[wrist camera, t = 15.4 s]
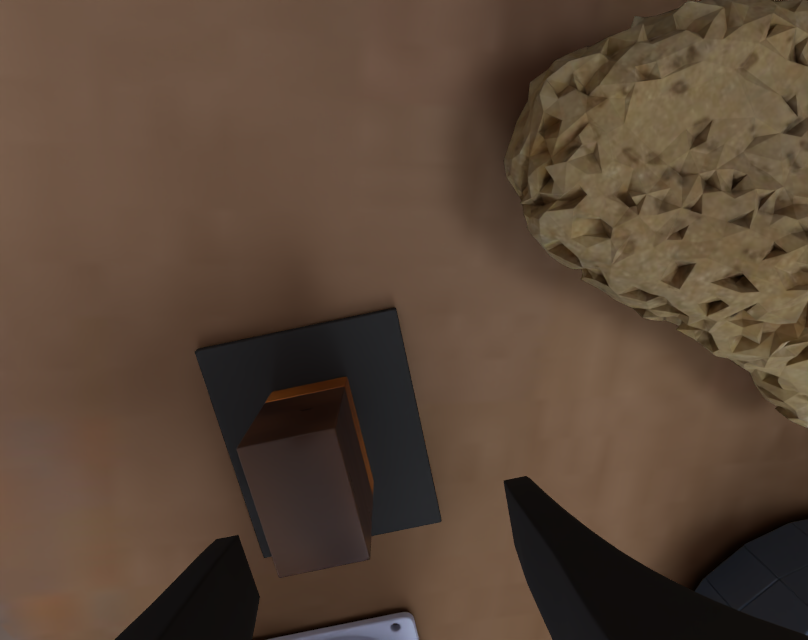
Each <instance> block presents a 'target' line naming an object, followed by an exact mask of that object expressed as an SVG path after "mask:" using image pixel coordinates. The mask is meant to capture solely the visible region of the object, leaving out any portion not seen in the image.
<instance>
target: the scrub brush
mask: <svg viewBox="0 0 808 640" xmlns="http://www.w3.org/2000/svg"><path fill="white" fill-rule="evenodd" d="M237 452H238V455H239V459H240V462H241V465H242V468H243V471H244V474H245V477H246V480H247V483H248V486H249V489H250V492H251V495H252V498H253V501H254V504H255V507H256V510H257V513H258V516H259V519H260V522H261V525H262V528H263V531H264V534H265V537H266V540H267V543H268V546H269V549H270V552H271V555H272V558H273V561H274V564H275V567H276V570H277V573H278V576H279V578H282V577H287V576H292V575H297V574H302V573H307V572H311V571H316V570H321V569H326V568H331V567H336V566H341V565H346V564H351V563H356V562H360V561H365V560H369V559H370V555H371V532H372V509H373V485H374V480H373V476H372V472H371V468H370V464H369V461H368V457H367V453H366V449H365V445H364V441H363V437H362V433H361V429H360V425H359V421H358V417H357V413H356V409H355V405H354V401H353V397H352V393H351V389H350V385H349V381H348V378H347V377H341V378H336V379H331V380H326V381H322V382H317V383H312V384H307V385H302V386H298V387H293V388H288V389H283V390H278V391H274V392H271V394H270V395H269V397H268V399H267V400H266V402H265V403H264V405H263V407H262V408H261V410H260V411H259V413H258V415H257V416H256V418H255V419H254V421H253V423H252V424H251V426H250V428H249V429H248V431H247V432H246V434H245V436H244V437H243V439H242V440H241V442H240V444H239V445H238V447H237Z"/></svg>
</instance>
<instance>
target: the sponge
mask: <svg viewBox="0 0 808 640" xmlns="http://www.w3.org/2000/svg"><path fill="white" fill-rule="evenodd" d="M528 98H529V100H528V101H527V103H526V105H525V107H524V109H523V111H522V113H521V114H520V116H519V118H518V120H517V123H516V126H515V129H514V132H513V135H512V138H511V141H510V143H509V146H508V149H507V152H506V155H505V157H504V165H505V171H506V176H507V178H508V180H509V182H510V183H511V185H512V186H513V188H514V189H515V191H516V192H517V194H518V195H519V197H520V199H521V200H522V201H521V203H522V204H523V214H524V216H525V219H526V221H527V224H528V225H527V228H528V230H529V232H530V233H531V235H532V236H533V237H534V238H535V239H536V240H537V241H538V242H539V243H540V245H541V246H542V247H543V248H544V250H545V251H546V252H547V253H548V255H549V256H551V257H552V258H554V259H555V260H557V261H558V262H559V263H561V264H562V265H564V266H567V267H569V268H571V269H582V272H583V274H582V277H581V280H583V281H585V282H587V283H589V284H590V285H592V286H594V287H596V288H598V289H600V290H602V291H604V292H605V293H606V294H608V295H609V296H610V297H612V298H613V299H614V300H616V301H618V302H620V303H622V304H624V305H627V306H629V307H632V308H633V309H634V310H635V311H636V312H637V313H638V314H639V315H640V316H641V317H643V318H646V319H649V320H656V321H664V320H666V321H668V322H671V323H673V324H676V325H678V326H679V327H678V328H677V329H676V330H678V331H680V332H682V333H683V334H685V335H687V336H689V337H691V338H693V339H694V340H696V341H697V342H699V343H700V344H701V345H703V346H704V347H705V348H706V349H707V350H709V351H710V352H711V353H712V354H714V355H715V356H717V357H723V358H729V359H730V360H731V361H733V362H734V363H735V364H736V365H738V366H740V367H742V368H744V369H746V370H747V371H749V372H750V374H751V377H752V379H753V381H754V383H755V385H756V387H757V388H758V390H759V391H760V393H761V394H762V396H763V397H764V399H766V400H767V401H769V402H770V403H772V404H773V405H776V406H777V407H776V408H775V409H776V410H778V411H779V412H780V413H781V414H783V415H784V416H785V417H786V418H787V419H789V420H791V421H792V422H794V423H796V424H799V425H801V426H804V427H806V428H808V2H807V1H805V0H790V1H778V2H776V1H773V0H702V1H699V2H692V1H687V2H686V3H685V4H684V5H682V6H681V7H680V8H678V9H675V10H672V11H669V12H666V13H663V14H660V15H657V16H651V17H646V18H644V17H638V16H635V17H634V20H633V23H632V26H631V28H630V29H628V30H625V31H623V32H620V33H618V34H615V35H612V36H609V37H608V38H606V39H604V40H602V41H600V42H598V43H597V44H595V45H593V46H590V47H584V48H581V49H579V50H576V51H574V52H572V53H569V54H567V55H565V56H563V57H561V58H559V59H557V60H555V61H554V62H553V64H552V65H551V66H550V68H549V69H548V70H546V71H545V72H544V73H542V74H541V75H539V76H538V77H537V78H535V79H534V80H533V81H531V82H530V87H529V96H528Z"/></svg>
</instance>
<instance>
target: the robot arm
mask: <svg viewBox="0 0 808 640" xmlns="http://www.w3.org/2000/svg"><path fill="white" fill-rule="evenodd" d="M504 486H505V492H506V498H507V504H508V510H509V515H510V521H511V527H512V533H513V539H514V545H515V548H516V551H517V554H518V557H519V560H520V563H521V566H522V569H523V572H524V575H525V578H526V581H527V584H528V586H529V588H530V591H531V593H532V595H533V597H534V600H535V602H536V604H537V606H538V608H539V611H540V613H541V615H542V617H543V619H544V622H545V624H546V626H547V628H548V630H549V633H550V635H551V637H552V639H553V640H808V635H805V634H802V633H799V632H796V631H793V630H790V629H788V628H785V627H782V626H779V625H776V624H773V623H770V622H768V621H765V620H762V619H759V618H756V617H753V616H751V615H748V614H746V613H743V612H741V611H739V610H736V609H734V608H731V607H729V606H726V605H724V604H722V603H719V602H717V601H714V600H712V599H710V598H708V597H706V596H703V595H701V594H699V593H697V592H695V591H692V590H690V589H688V588H686V587H684V586H682V585H680V584H678V583H676V582H674V581H672V580H670V579H668V578H666V577H664V576H663V575H661V574H659V573H657V572H655V571H653V570H651V569H650V568H648V567H646V566H644V565H643V564H641V563H639V562H638V561H636V560H634V559H633V558H631V557H629V556H628V555H626V554H625V553H623V552H621V551H620V550H618V549H617V548H615V547H614V546H612V545H611V544H609V543H608V542H607V541H605V540H604V539H602V538H601V537H600V536H598V535H597V534H595V533H594V532H593V531H591V530H590V529H589V528H587V527H586V526H585V525H583V524H582V523H581V522H580V521H578V520H577V519H576V518H575V517H573V516H572V515H571V514H570V513H568V512H567V511H566V510H565V509H563V508H562V507H561V506H560V505H559V504H557V503H556V502H555V501H554V500H553V499H552V498H551V497H549V496H548V495H547V494H546V493H545V492H544V491H543V490H542V489H541V488H540V487H539V486H537V485H536V484H535V483H534V482H533V481H532V480H531V479H530V478H528V477H527V476H524V477H519V478H514V479H509V480H504ZM259 598H260V596H259V593H258V590H257V587H256V584H255V582H254V579H253V576H252V573H251V570H250V567H249V564H248V561H247V559H246V556H245V553H244V550H243V547H242V544H241V541H240V538H239V535H235V536H231V537H226V538H221V539H216V540H215V541H214V542H213V543H212V544H211V545H209V546H208V547H207V548H206V549H205V550H204V551H203V552H202V553H201V554H200V555H199V556H198V557H197V558H196V559H195V560H194V561H193V562H192V563H191V564H190V565H189V566H188V567H187V569H186V570H185V571H184V572H183V573H182V574H181V575H180V576H179V577H178V578H177V579H176V580H175V581H174V582H173V583H172V584H171V585H170V586H169V587H168V588H167V589H166V590H165V591H164V592H163V593H162V594H161V595H160V596H159V597H158V598H157V599H156V600H155V601H154V602H153V603H152V604H151V605H150V606H149V607H148V608H147V609H146V610H145V611H144V612H143V613H142V614H141V615H140V616H139V617H138V618H137V619H136V620H135V621H133V622H132V623H131V624H130V625H129V626H128V627H127V628H126V629H125V630H124V631H123V632H122V633H121V634H120V635H119V636H118V637H117V638H116V639H115V640H252V637H253V632H254V627H255V622H256V616H257V610H258V604H259ZM394 623H397V625H393V624H394ZM266 640H419V637H418V633H417V629H416V625H415V621H414V617H413V615H412V614H410V613H408V612H400V613H395V614H390V615H385V616H380V617H375V618H370V619H365V620H361V621H356V622H351V623H346V624H341V625H336V626H331V627H326V628H321V629H316V630H311V631H306V632H301V633H296V634H291V635H286V636H281V637H276V638H271V639H266Z"/></svg>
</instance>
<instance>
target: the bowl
mask: <svg viewBox="0 0 808 640" xmlns="http://www.w3.org/2000/svg"><path fill="white" fill-rule="evenodd" d="M695 592H697V593H699V594H701V595H703V596H706V597H708V598H710V599H712V600H714V601H717V602H719V603H722V604H724V605H726V606H729V607H731V608H734V609H736V610H739V611H741V612H743V613H746V614H748V615H751V616H753V617H756V618H759V619H762V620H765V621H768V622H770V623H773V624H776V625H779V626H782V627H785V628H788V629H790V630H793V631H796V632H799V633H802V634H805V635H808V519H805V520H800V521H795V522H791V523H788V524H786V525H784V526H781V527H779V528H777V529H775V530H773V531H771V532H769V533H767V534H765V535H763V536H760V537H758V538H756V539H754V540H752V541H750V542H748V543H746V544H744V546H742V547H741V548H739V549H738V550H737V551H736V552H734V553H733V554H732V555H731V556H729V557H728V558H727V559H725V560H724V561H723V562H721V563H720V564H719V565H718V566H717V567H716V568H715V569H714V570H713V571H711V572H710V573H709V574H708V575H707V576H706V578H705V577H704V578H703V580H702V581H701V582H700V584H699V585H698V587H697V588H696V589H695Z"/></svg>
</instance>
